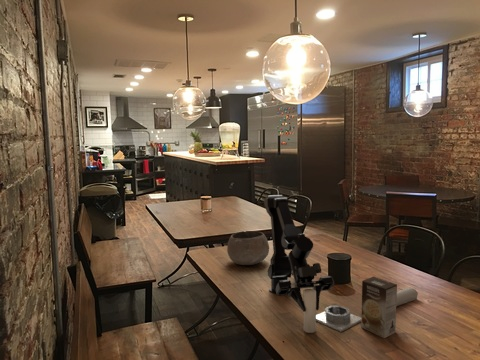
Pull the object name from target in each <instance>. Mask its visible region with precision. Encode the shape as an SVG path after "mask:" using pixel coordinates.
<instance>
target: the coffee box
mask: <svg viewBox="0 0 480 360" xmlns="http://www.w3.org/2000/svg"><path fill="white" fill-rule="evenodd" d="M361 282H362V283H361V316H360V317H361V322H360V323H361V325H360V327H361V328H362V329H364V330H366V331H368V332H370V333H373V334H375V335H377V336H379V337H381V338H384V339H385V338H387V337H389V336H391V335H394V334H395V333H396V327H397V325H396V323H397V322H396V321H397V306H396V301H397V291H398V284H396V283H393V282H391V281H387V280H385V279H382V278H379V277H376V276H375V275H374V276H371V277H369V278H366V279H362V280H361Z"/></svg>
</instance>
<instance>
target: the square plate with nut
mask: <svg viewBox="0 0 480 360" xmlns="http://www.w3.org/2000/svg"><path fill="white" fill-rule="evenodd" d="M361 317H362V316H357V315H356V314H352V313H351V311H350V308H348V307H345V306H343V305H329V306H327V307H325V308H324V311H322V312H320V313H318V314H316V323H317V322H318V323H319V324H322V325H324V326H326V327H329V328H331V329H333V330H335V331H338V332H340V333H342V332H344V331H346V330H348V329H349V328H352V327H353V326H356V325H357V324H359V323H361Z"/></svg>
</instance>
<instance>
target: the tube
mask: <svg viewBox="0 0 480 360" xmlns="http://www.w3.org/2000/svg"><path fill="white" fill-rule="evenodd" d="M418 296H419V292H418V291H417V290H416V289H415V288H413V287H407V288H404V289H401V290H397V301H396V307H398V306H401V305H405V304H407V303H410V302H413V301H415V300H417V299H418Z"/></svg>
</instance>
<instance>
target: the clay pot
mask: <svg viewBox="0 0 480 360" xmlns="http://www.w3.org/2000/svg"><path fill="white" fill-rule="evenodd" d="M226 249H227V254H228V257H229V259H230V260H231V261H232V262H234V264H237V265H239V266H254V265H257V264H259V263H262V262H263V261H264V260H266V258H267V257H268V255H269V253H270V244H269V241H268V239H267V237H266V235H265V234H264V233H263V232H262V231H255V230H243V231H238V232H235V233H233V234H231V236H230V237H229V239H228V241H227V246H226Z"/></svg>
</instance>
